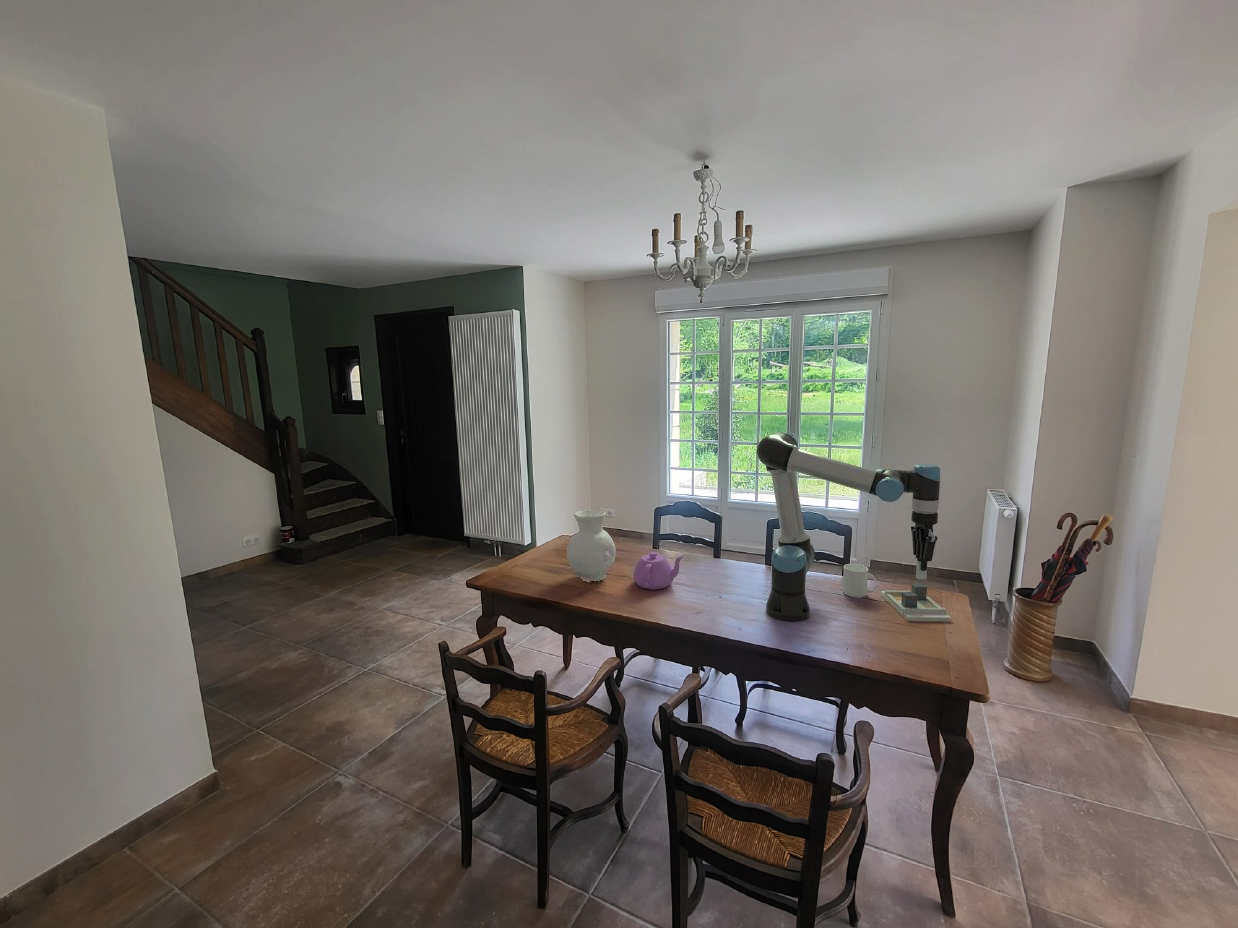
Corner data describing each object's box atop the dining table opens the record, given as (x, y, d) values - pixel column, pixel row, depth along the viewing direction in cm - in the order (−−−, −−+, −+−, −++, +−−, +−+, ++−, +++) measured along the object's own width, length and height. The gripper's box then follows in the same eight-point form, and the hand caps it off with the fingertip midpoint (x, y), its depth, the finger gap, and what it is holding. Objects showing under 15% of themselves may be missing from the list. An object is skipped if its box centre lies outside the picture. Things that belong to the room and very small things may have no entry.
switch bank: (907, 620, 173) (908, 612, 173) (880, 594, 195) (881, 587, 194) (950, 621, 172) (951, 613, 172) (918, 594, 194) (919, 587, 193)
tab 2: (914, 599, 186) (915, 586, 185) (910, 596, 188) (911, 583, 188) (926, 599, 185) (927, 586, 184) (922, 596, 188) (922, 583, 187)
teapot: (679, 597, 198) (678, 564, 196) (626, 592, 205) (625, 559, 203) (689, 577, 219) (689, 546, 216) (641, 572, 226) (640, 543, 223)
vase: (623, 574, 224) (621, 509, 220) (596, 591, 207) (593, 521, 202) (590, 567, 234) (587, 504, 230) (561, 583, 217) (557, 515, 212)
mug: (874, 602, 189) (875, 575, 187) (840, 594, 196) (841, 568, 194) (878, 594, 195) (880, 567, 194) (845, 587, 203) (846, 562, 201)
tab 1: (905, 609, 178) (905, 595, 178) (901, 605, 181) (902, 592, 180) (916, 609, 178) (917, 595, 177) (912, 605, 181) (913, 592, 180)
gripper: (947, 515, 161) (943, 585, 164) (926, 506, 173) (923, 571, 177) (922, 516, 161) (919, 585, 165) (903, 506, 174) (900, 571, 178)
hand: (921, 578), depth 171 cm, fingers closed
